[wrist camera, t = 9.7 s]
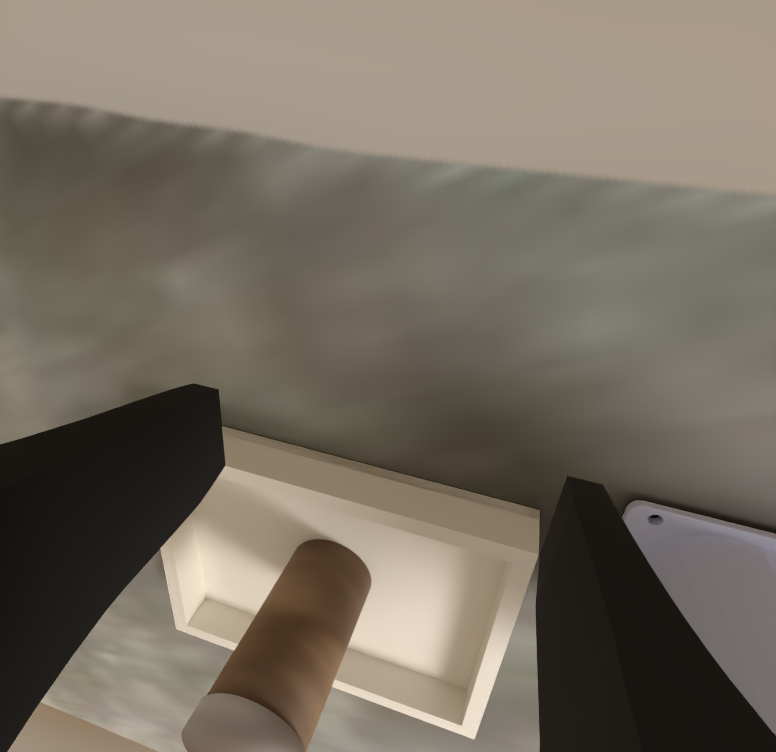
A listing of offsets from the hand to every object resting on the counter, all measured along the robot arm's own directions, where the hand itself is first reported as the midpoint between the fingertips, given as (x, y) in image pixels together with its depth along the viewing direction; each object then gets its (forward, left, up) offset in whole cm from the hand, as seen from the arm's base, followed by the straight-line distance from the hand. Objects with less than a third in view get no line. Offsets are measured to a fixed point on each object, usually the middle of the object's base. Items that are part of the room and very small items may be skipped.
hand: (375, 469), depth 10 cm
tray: (+4, +15, -9) cm, 18 cm away
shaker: (+4, +15, -9) cm, 18 cm away
